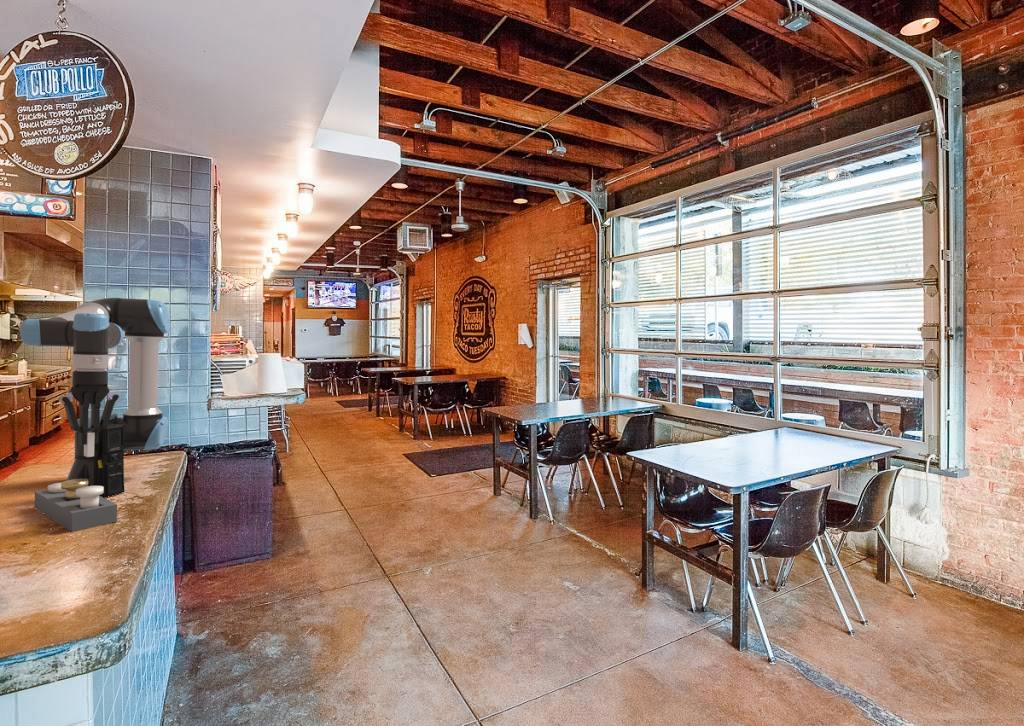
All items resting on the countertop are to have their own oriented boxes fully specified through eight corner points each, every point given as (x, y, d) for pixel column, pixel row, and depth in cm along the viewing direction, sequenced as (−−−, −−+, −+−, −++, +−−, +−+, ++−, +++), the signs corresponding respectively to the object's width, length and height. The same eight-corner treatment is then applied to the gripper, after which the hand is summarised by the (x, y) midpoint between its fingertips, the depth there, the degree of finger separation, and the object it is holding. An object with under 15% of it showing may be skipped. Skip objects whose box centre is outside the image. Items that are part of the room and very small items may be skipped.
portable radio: (103, 499, 165) (104, 420, 165) (87, 497, 167) (88, 419, 166) (126, 492, 173) (127, 417, 172) (111, 490, 174) (112, 416, 173)
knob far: (98, 506, 149) (98, 484, 148) (107, 510, 145) (107, 488, 145) (71, 511, 144) (72, 488, 143) (80, 516, 140) (80, 493, 140)
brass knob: (83, 498, 155) (83, 477, 155) (91, 502, 151) (91, 481, 151) (57, 503, 150) (57, 481, 150) (65, 507, 146) (65, 485, 146)
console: (76, 500, 163) (76, 484, 163) (116, 522, 147) (117, 504, 146) (34, 508, 155) (34, 491, 155) (71, 531, 138) (72, 513, 138)
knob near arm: (69, 501, 161) (70, 481, 161) (77, 505, 158) (77, 484, 157) (44, 505, 156) (44, 484, 156) (51, 509, 153) (51, 488, 152)
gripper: (65, 371, 136) (63, 461, 136) (124, 370, 147) (122, 454, 147) (55, 369, 140) (53, 457, 141) (113, 369, 151) (111, 450, 151)
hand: (88, 455), depth 144 cm, fingers closed
